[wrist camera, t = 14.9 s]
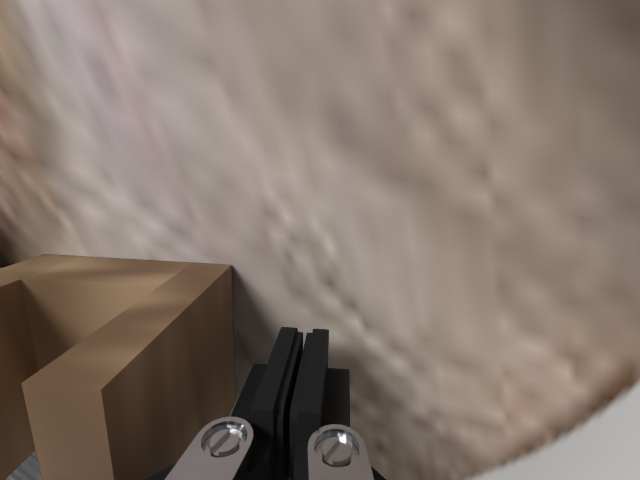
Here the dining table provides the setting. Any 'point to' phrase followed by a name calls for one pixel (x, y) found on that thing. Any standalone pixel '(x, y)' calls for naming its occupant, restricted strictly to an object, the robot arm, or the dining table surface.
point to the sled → (111, 363)
